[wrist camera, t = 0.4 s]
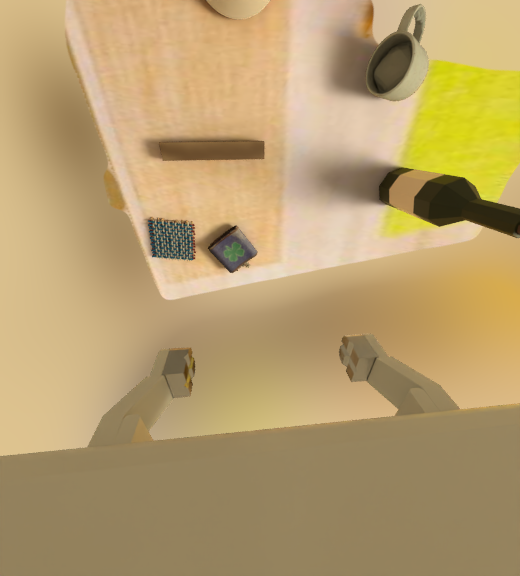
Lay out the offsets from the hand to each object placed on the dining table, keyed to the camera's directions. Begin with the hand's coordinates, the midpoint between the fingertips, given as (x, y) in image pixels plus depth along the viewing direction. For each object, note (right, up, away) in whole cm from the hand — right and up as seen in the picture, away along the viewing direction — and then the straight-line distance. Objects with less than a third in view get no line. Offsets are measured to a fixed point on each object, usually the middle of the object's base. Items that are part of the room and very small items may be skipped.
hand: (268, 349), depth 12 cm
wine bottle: (+32, +28, +42) cm, 59 cm away
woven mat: (-22, +16, +44) cm, 52 cm away
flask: (-10, +17, +45) cm, 49 cm away
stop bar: (-10, +32, +34) cm, 48 cm away
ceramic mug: (+23, +45, +30) cm, 58 cm away
